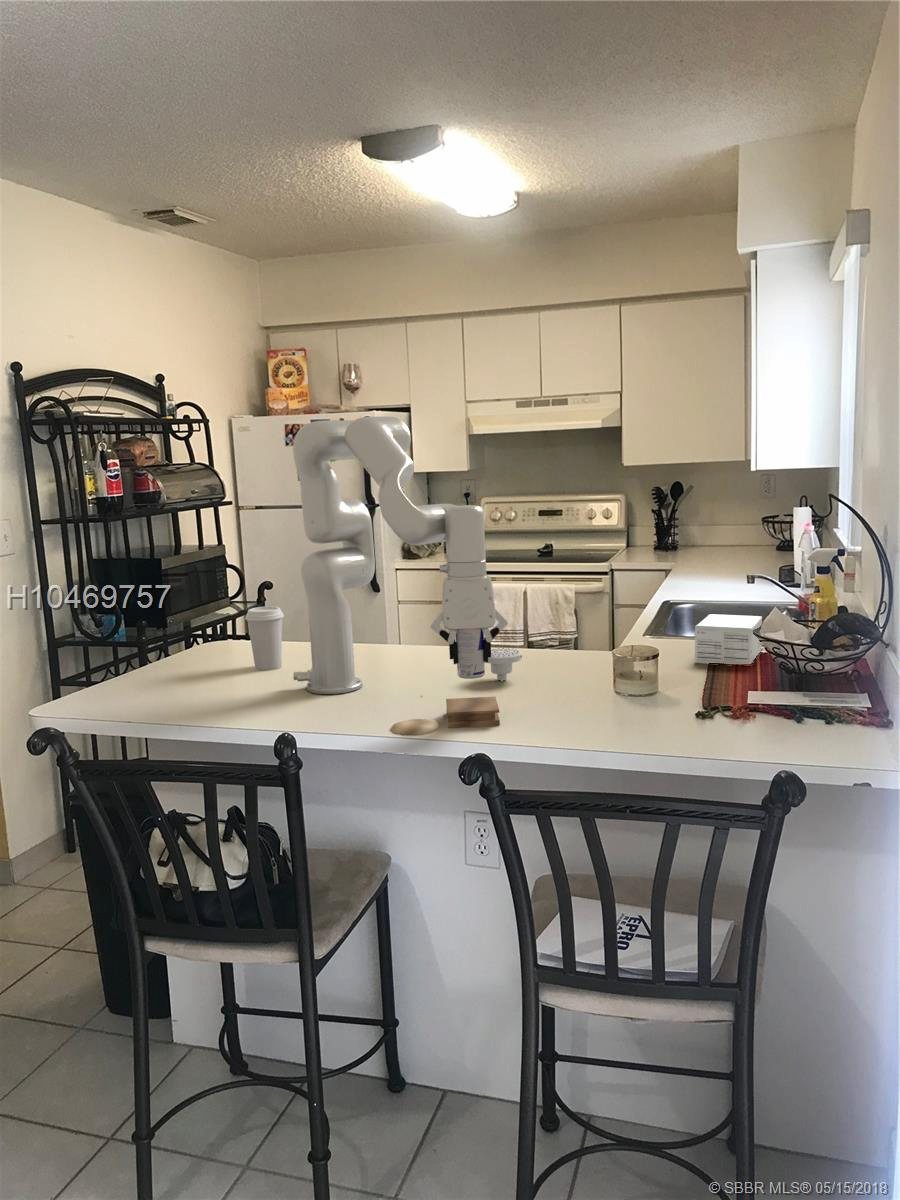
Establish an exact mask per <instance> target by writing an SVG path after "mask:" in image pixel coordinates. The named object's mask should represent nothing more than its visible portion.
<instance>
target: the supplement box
mask: <svg viewBox="0 0 900 1200" xmlns="http://www.w3.org/2000/svg"><path fill="white" fill-rule="evenodd" d="M761 625H762V626H763V616H759V615H740V614H738V615H737V614H715V613H714V614H713V613H711V614H708V615H707V616H705V618H704V619H702V620H701V621H700V622H699V623H698V624H696V625H695V626H694V663H695V664H702V665H703V664H704V665H710V664H709V663H724V664H725V663H726V664H751V663H752V662H753V660H754V659H755V658H756V656H757V655H758V654H759V653H760V652H761V653H762V643H761V642H760V641H759V639H758V638H757V637H756V636H755V635H754V634H753V630H755V629H757V628H759V627H760V626H761ZM761 653H760V654H761ZM760 654H759V655H760ZM756 659H757V658H756ZM753 663H754V662H753Z"/></svg>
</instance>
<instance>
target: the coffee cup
mask: <svg viewBox="0 0 900 1200" xmlns="http://www.w3.org/2000/svg"><path fill="white" fill-rule="evenodd" d="M284 617H285V615H284V613H283V611H282V609H281V608H280V607H279V606H274V605H273V606H269V605H268V606H257V607H252V608H249V609H248V610H247V613H246V615H245V617H244V618H245V619H244V620H245V621H247V625H248V626H247V627H248V631H249V639H250V644H251V651H252V655H253V656H252V657H253V662H254V668H255V670H256V669H257V671H272V670H273V669H274V670H277V668H278V669H280V668H282V653H283V652H282V650H283V649H282V648H283V647H282V645H283V641H282V639H283V637H282V636H283V634H282V633H283V618H284Z"/></svg>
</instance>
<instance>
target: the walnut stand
mask: <svg viewBox="0 0 900 1200" xmlns="http://www.w3.org/2000/svg"><path fill="white" fill-rule="evenodd" d="M445 703H446V708H445V709H446V721H447V728H450V729H451V728H452V729H453V728H468V727H469V728H471V727H472V728H473V727H492V726H500V725H501V723H500V722H501V721H500V716H499V713H500V707H499V705H498V701H497V698H496V696H482V697H481V696H479V697H477V696H476V697H457V698H456V697H454V698H446V699H445Z"/></svg>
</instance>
